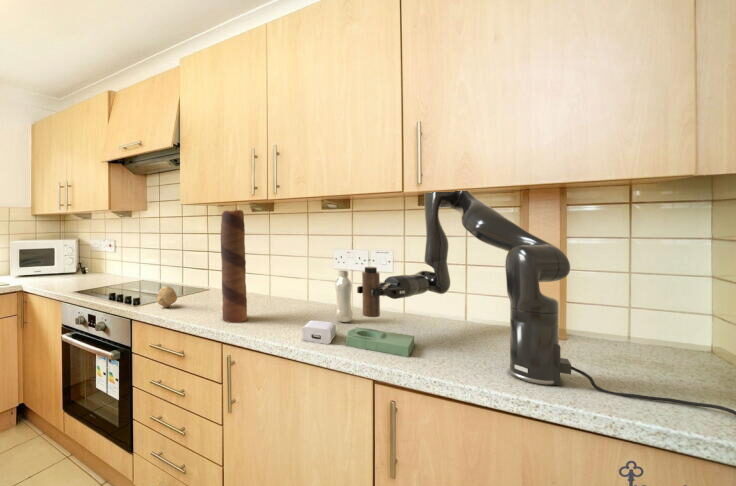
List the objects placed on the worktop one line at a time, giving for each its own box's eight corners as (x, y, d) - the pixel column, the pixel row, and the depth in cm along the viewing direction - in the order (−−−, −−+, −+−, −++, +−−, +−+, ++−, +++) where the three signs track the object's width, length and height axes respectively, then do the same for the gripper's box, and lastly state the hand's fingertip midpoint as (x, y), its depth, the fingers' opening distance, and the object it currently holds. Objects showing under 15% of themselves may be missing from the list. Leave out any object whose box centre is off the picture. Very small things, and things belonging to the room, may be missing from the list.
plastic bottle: (340, 324, 139) (340, 272, 139) (332, 319, 146) (331, 270, 145) (356, 323, 140) (355, 271, 140) (346, 318, 147) (346, 269, 146)
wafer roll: (223, 324, 142) (221, 209, 141) (220, 317, 152) (218, 210, 151) (249, 322, 143) (248, 209, 142) (244, 315, 154) (243, 210, 153)
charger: (339, 331, 130) (330, 344, 117) (313, 328, 134) (302, 340, 121) (338, 318, 130) (330, 329, 117) (313, 315, 134) (302, 326, 121)
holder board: (414, 345, 115) (414, 335, 115) (408, 357, 105) (408, 346, 105) (353, 334, 126) (353, 326, 126) (342, 344, 116) (342, 335, 116)
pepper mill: (381, 314, 118) (381, 266, 118) (377, 318, 114) (377, 268, 113) (365, 312, 121) (364, 266, 121) (360, 315, 117) (360, 267, 116)
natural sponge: (180, 305, 174) (180, 285, 173) (171, 310, 165) (170, 288, 165) (164, 304, 177) (164, 284, 177) (154, 308, 169) (153, 287, 169)
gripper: (383, 272, 130) (348, 277, 122) (420, 278, 117) (383, 283, 109) (384, 293, 130) (348, 298, 123) (420, 301, 117) (383, 307, 110)
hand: (365, 291), depth 116 cm, fingers closed on pepper mill, 5 cm apart
